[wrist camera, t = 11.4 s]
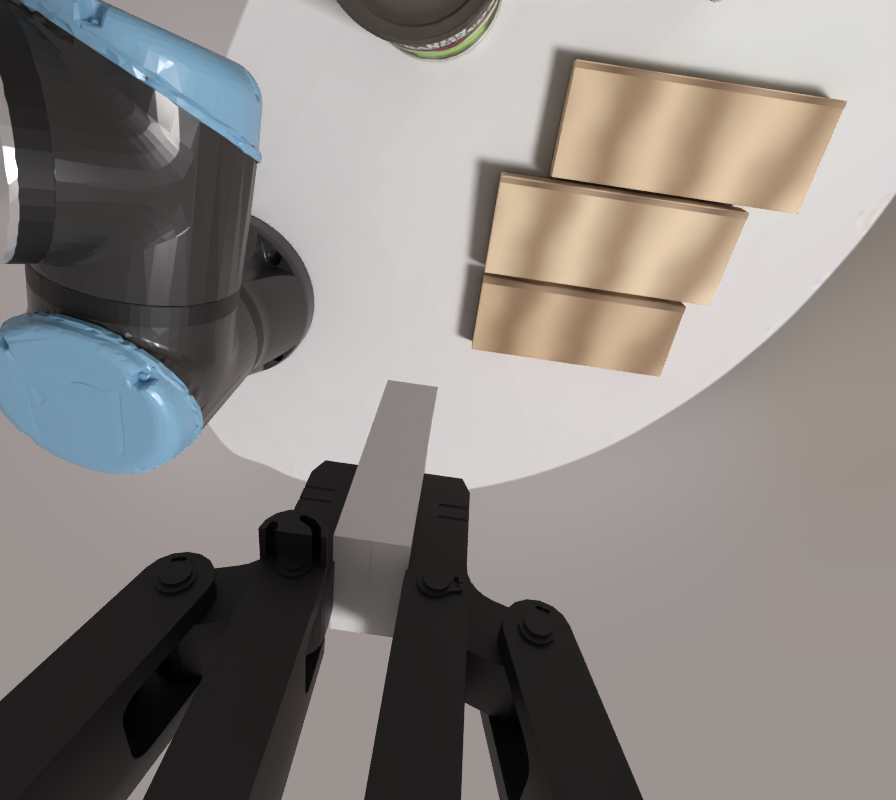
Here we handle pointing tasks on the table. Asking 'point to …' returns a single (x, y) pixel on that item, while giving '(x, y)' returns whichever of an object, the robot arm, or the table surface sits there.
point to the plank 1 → (691, 136)
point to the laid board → (575, 324)
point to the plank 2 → (611, 238)
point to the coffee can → (426, 24)
